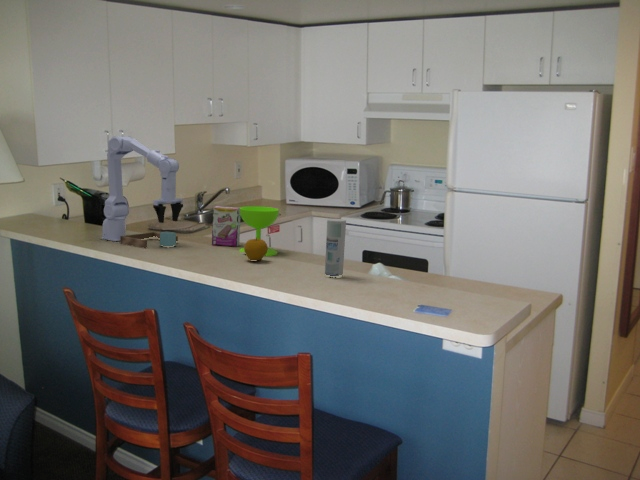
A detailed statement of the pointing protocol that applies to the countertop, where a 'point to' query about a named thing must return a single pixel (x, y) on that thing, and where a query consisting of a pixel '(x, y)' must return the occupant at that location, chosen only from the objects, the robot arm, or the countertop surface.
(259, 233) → the wineglass
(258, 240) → the apple
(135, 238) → the walnut crate
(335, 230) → the spray can
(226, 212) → the candy bar box
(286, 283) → the countertop surface
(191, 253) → the countertop surface
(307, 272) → the countertop surface
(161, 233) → the teal block
